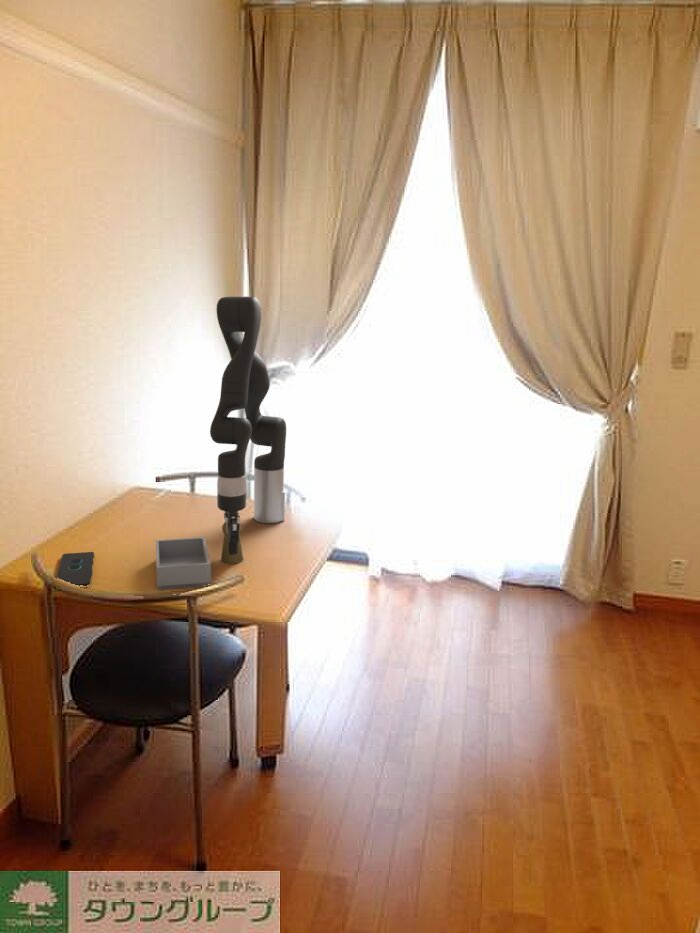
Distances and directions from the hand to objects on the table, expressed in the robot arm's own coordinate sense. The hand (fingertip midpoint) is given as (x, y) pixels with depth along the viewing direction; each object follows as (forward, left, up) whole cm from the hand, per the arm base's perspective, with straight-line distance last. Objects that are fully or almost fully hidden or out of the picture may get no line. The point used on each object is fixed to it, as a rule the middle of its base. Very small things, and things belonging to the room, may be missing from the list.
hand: (232, 550), depth 188 cm
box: (+13, +6, -3) cm, 15 cm away
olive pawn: (0, 0, -3) cm, 3 cm away
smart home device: (+40, 0, -3) cm, 40 cm away
